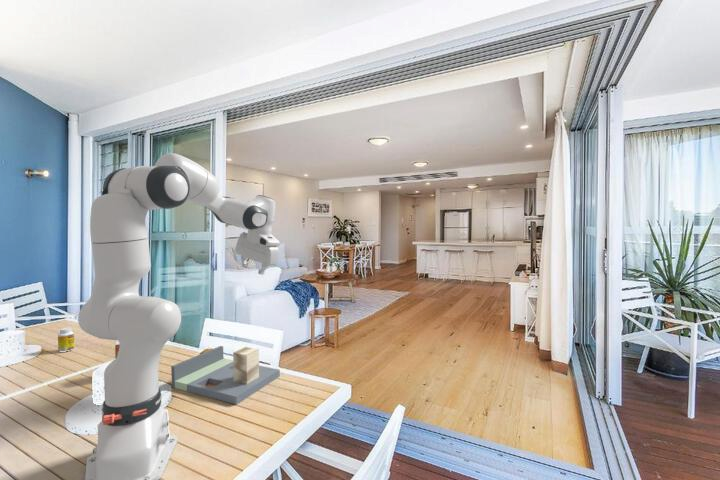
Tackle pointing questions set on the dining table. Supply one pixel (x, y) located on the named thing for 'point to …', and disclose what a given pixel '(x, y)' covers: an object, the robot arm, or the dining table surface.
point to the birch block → (246, 365)
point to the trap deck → (220, 378)
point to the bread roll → (205, 351)
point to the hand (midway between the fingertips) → (252, 270)
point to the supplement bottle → (65, 339)
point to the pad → (200, 374)
